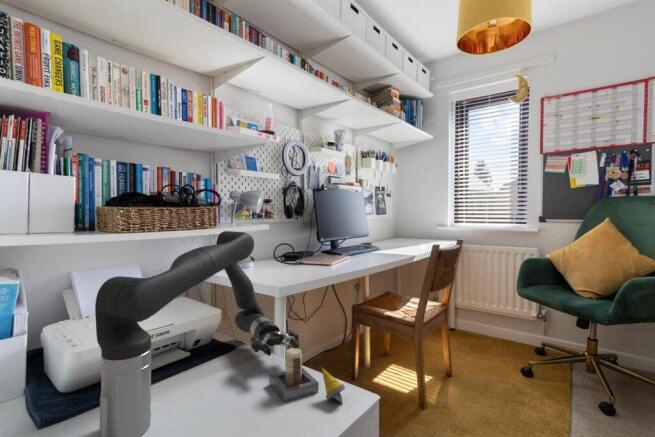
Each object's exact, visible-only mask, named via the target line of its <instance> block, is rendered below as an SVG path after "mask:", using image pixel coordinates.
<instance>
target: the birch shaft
mask: <svg viewBox="0 0 655 437" xmlns="http://www.w3.org/2000/svg"><path fill="white" fill-rule="evenodd" d="M302 356H303V354H302V349H300V348H298V349H297V348H293V347H292V348H288V349H286V350H285V356H284V358H285V362H284V364H285V366H284V367H285V369H284V370H285V371H284V372H285V383H284V385H285V386H286V387H287V388H289V387H293V386H297V385H299V384H302V381H301V377H302V368H303V366H302V365H303V364H302V362H303V360H302V359H303V357H302Z"/></svg>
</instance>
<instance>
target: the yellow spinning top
mask: <svg viewBox="0 0 655 437" xmlns="http://www.w3.org/2000/svg"><path fill="white" fill-rule="evenodd" d="M321 371H322V372H321V373H322V376H323V383H324V385H325V386H324V387H325V393H326V395H325V398H326V399H327V401H329V399H330V400H331V399H333V398H334V399H335V400H337V401H338V402H339V403H340V404H341V403H342V404H343V396H342V394H341V393H342V392H343V391H344V390H345V388H346V386H345V384H343V383H341V382H339V381H338V380H337V379H336V378H335V377H334V376H333V375H331V374H330V373H329V372H328V371H326V369H324V368H323V367H322V368H321ZM342 404H341V405H342Z"/></svg>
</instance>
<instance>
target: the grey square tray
mask: <svg viewBox="0 0 655 437" xmlns="http://www.w3.org/2000/svg"><path fill="white" fill-rule="evenodd" d="M269 385H270V387H271V388H272V389H273V391H275V393H276V394H277V395H278V397H279V398H280V399H281V401H282V402H283V403H286V402H290V401H294V400H296V399H299V398H303V397H306V396H308V395H312V394H316V393H319V392H318V391H319V389H320V388H319V387H320V386H319V381H318V380H317V379H316V378H314V377H313V375H312V374H310V373H309V372H308V371H307V370H306V369H305V368H304V367H302V377H301V384H299V385H297V386H293V387H289V388H287V387H286V386H285V371H283V372H279V373H277V372H276V373H273V374H271V375H269Z"/></svg>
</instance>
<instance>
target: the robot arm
mask: <svg viewBox="0 0 655 437" xmlns="http://www.w3.org/2000/svg"><path fill="white" fill-rule="evenodd" d="M215 242H216V243H215V244H211V245H204V246H200V247H196V248H193V249H191V250H188V251H186V252H184V253H182V254H180V255H178V256H177V257H176V258H175V259H174V260H173V262H172V264H171V265H170V268H169V269H168V270H165V271H164V272H161V273H159V274H156V275H153V276H149V277H135V276H134V277H133V276H123V275H122V276H121V275H120V276H113V277H111V278H108V279H107V280H105V281H104V282H103V283H102V285H101V286H100V287H99V289H98V292H97V294H96V298H95V304H94V305H95V306H94V308H95V311H94V312H95V313H94V314H95V315H94V316H95V329H96V331H95V332H96V341H97V344H98V346H99V348H100V353H101V354H100V355H101V357H100V358H101V359H100V360H101V372H100V373H101V374H100V376H101V379H100V384H101V385H100V386H101V387H100V397H99V437H141V436H142V435H144V434H145V433H146V432H147V431H148V430H149V428H150V426H151V421H152V420H151V417H152V413H151V412H152V410H151V409H152V408H151V406H152V404H151V403H152V397H151V396H152V395H151V394H152V337H151V335H150V333H149V332H148V331H146V330H145V329H143V328H142V327H141V326H140V324H139V322H140V323H141V322H143V321H145V320H147V319H150V318H151V317H153V316H155V314H157V313H158V312H160V311H161V310H162V309H163V308H165V307H166V306H167V305H168V304H169V303H171V302H173V301H174V300H175V299H176V298H178V297H179V296H181V295H183V294H185V293H186V292H188V291H190V290H191V289H193V288H194V287H195V286H197V285H198V286H199V285H200V284H201V283H203V282H206V281H207V280H209V279H210V278H211V277H213V276H214V275H217V274H218V273H219V272H221V271H223V270H224V271H225V273H226V276H228V277H227V278H228V280H229V281H230V285H231V287H232V290H233V291H232V292H233V296H234V299H235V304H236V307H237V308H238V309H240V311H239V312H237V313H236V315H235V317H234V322H235V325H236V327H237V328H238V329H239V330H241V331H242V332H243V333H247V334H250V335H252V336H251V337H250V347H251V349H252V350H253V351H254V352H255V353H259V351H260V352H261V353H264V354H265V355H267V356H268V357H269V356H271V355H272V347H274V346H283V347H287V346H290V347H292V348H297V349H300V341H299V339H300V338H299V336H300V335H299V334H298V333H296V332H294V331H293V330H290V329H289V330H287V333H284V332H282V331H281V330H280V328H279V326H278V325H276V324H275V323H274V322H273V321H271V320H270V319H268V318H266V317H265V314H264V311H263V309H262V308H261V306H260V305H259V303H258V300H257V299H256V295H255V294H256V293H255V289H254V286H253V285H254V284H253V282H252V281H251V279H250V278H249V277H248V275H247V274H246V272H244V270H243V269H242V267H241V266H240V265H239V262H241V261H244V260H247V259H248V258H249V257H250V256H251V254H252V253H253V252H254V248H255V239H254V238H253V236H252V235H251V234H250V233H247V232H244V231H232V230H225V231H224V230H223V231H222V232H220V233H219V234H218V236H217V238H216V241H215Z"/></svg>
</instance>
